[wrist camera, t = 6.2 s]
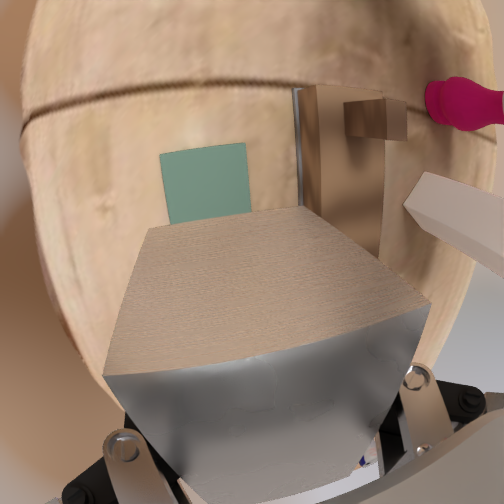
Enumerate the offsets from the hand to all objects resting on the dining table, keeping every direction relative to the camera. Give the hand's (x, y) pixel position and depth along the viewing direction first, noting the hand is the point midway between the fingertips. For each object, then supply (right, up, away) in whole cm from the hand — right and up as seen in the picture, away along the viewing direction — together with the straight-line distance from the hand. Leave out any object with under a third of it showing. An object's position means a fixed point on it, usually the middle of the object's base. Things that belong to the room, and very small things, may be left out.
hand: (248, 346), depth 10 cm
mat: (-4, +8, +17) cm, 19 cm away
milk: (+23, +11, +23) cm, 34 cm away
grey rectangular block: (0, +1, +2) cm, 2 cm away
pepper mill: (+25, +24, +17) cm, 39 cm away
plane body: (+9, +10, +19) cm, 23 cm away
